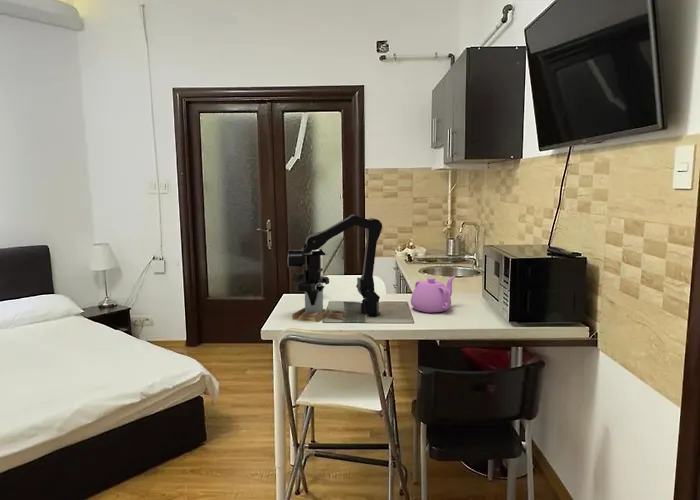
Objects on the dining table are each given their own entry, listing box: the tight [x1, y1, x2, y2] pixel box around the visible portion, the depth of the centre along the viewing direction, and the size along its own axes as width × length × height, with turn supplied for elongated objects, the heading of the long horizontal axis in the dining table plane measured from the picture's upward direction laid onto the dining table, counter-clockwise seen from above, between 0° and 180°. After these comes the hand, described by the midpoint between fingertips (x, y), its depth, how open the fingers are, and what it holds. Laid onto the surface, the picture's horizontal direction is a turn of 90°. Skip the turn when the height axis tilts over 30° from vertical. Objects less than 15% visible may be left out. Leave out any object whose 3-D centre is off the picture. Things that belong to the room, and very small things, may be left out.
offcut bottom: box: [299, 316, 316, 320], centre depth 206 cm, size 7×5×1 cm
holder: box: [327, 309, 348, 321], centre depth 207 cm, size 6×5×3 cm
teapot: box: [410, 275, 456, 314], centre depth 224 cm, size 22×22×14 cm
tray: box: [292, 307, 330, 323], centre depth 208 cm, size 11×11×3 cm
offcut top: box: [301, 312, 319, 318], centre depth 206 cm, size 6×4×1 cm
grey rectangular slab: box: [304, 290, 324, 314], centre depth 210 cm, size 7×2×9 cm, turn 70°
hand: (313, 304), depth 210 cm, fingers closed on grey rectangular slab, 2 cm apart
